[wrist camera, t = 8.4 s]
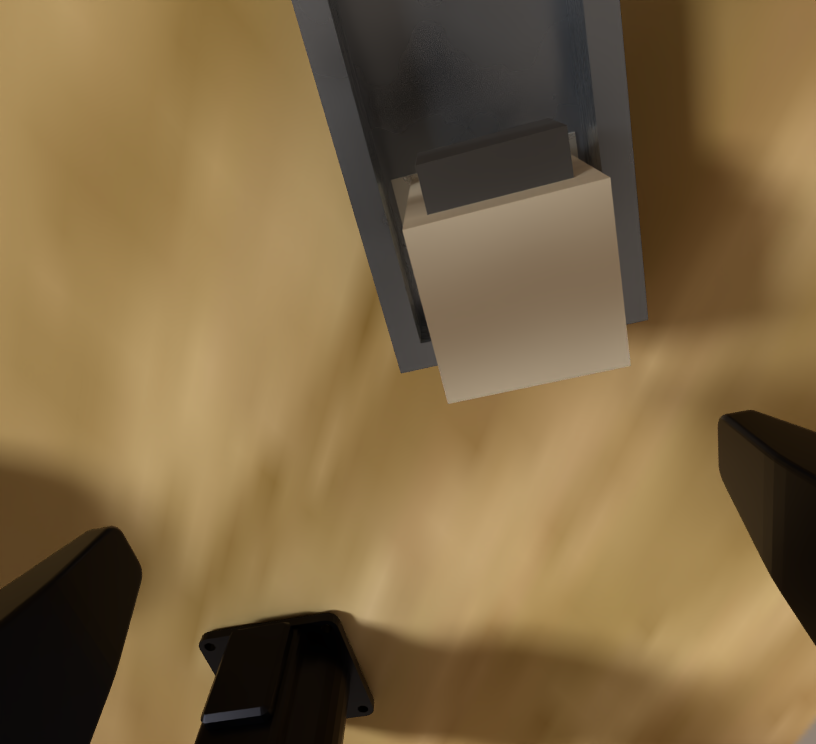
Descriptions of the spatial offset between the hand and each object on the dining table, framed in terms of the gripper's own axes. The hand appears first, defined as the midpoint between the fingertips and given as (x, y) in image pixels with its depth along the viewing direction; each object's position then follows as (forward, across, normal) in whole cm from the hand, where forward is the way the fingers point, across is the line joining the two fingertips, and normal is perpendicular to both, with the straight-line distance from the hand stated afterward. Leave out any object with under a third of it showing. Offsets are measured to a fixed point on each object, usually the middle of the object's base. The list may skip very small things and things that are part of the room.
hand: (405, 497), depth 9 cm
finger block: (+11, -2, -1) cm, 11 cm away
